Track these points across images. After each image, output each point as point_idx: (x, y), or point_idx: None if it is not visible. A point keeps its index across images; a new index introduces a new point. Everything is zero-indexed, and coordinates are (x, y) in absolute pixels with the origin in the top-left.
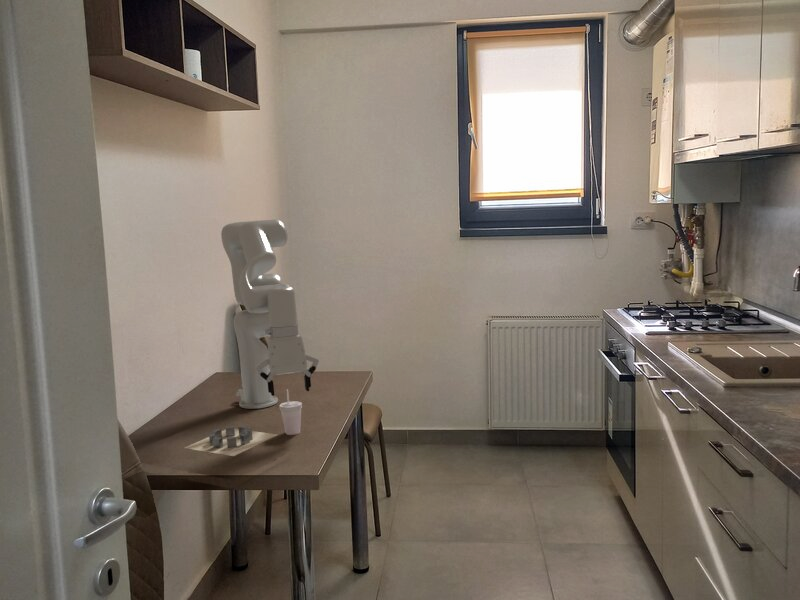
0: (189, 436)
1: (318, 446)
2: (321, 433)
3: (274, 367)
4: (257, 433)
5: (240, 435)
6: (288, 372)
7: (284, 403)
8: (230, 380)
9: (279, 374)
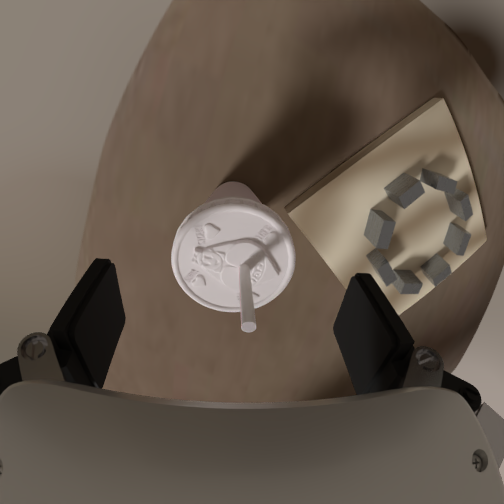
0: (430, 329)
1: (173, 71)
2: (138, 200)
3: (470, 454)
4: (340, 258)
5: (424, 192)
6: (262, 411)
7: (258, 295)
8: None
9: (382, 391)
